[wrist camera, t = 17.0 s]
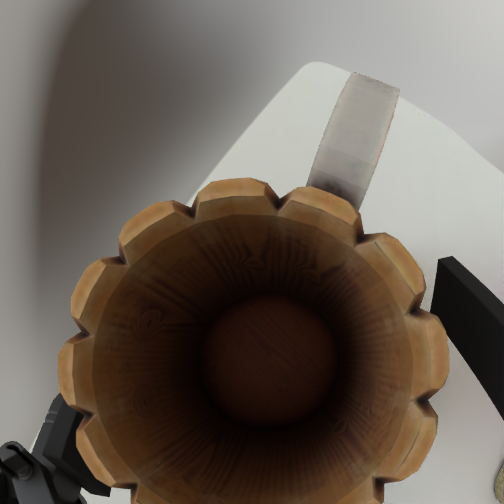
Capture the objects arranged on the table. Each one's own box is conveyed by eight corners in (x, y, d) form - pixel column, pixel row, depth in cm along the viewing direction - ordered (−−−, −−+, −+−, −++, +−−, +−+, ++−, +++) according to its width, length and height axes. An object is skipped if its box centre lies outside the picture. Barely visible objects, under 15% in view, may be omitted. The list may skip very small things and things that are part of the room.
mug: (305, 463, 17) (343, 624, 3) (162, 392, 19) (-18, 425, 5) (399, 253, 21) (525, 113, 7) (265, 195, 23) (242, 7, 9)
